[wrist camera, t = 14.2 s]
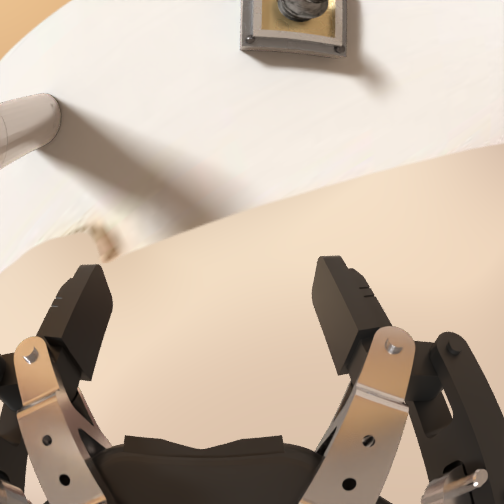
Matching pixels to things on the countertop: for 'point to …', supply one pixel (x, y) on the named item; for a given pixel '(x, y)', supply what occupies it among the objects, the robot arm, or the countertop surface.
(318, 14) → the grey stone figure
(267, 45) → the grey square box
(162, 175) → the countertop surface
